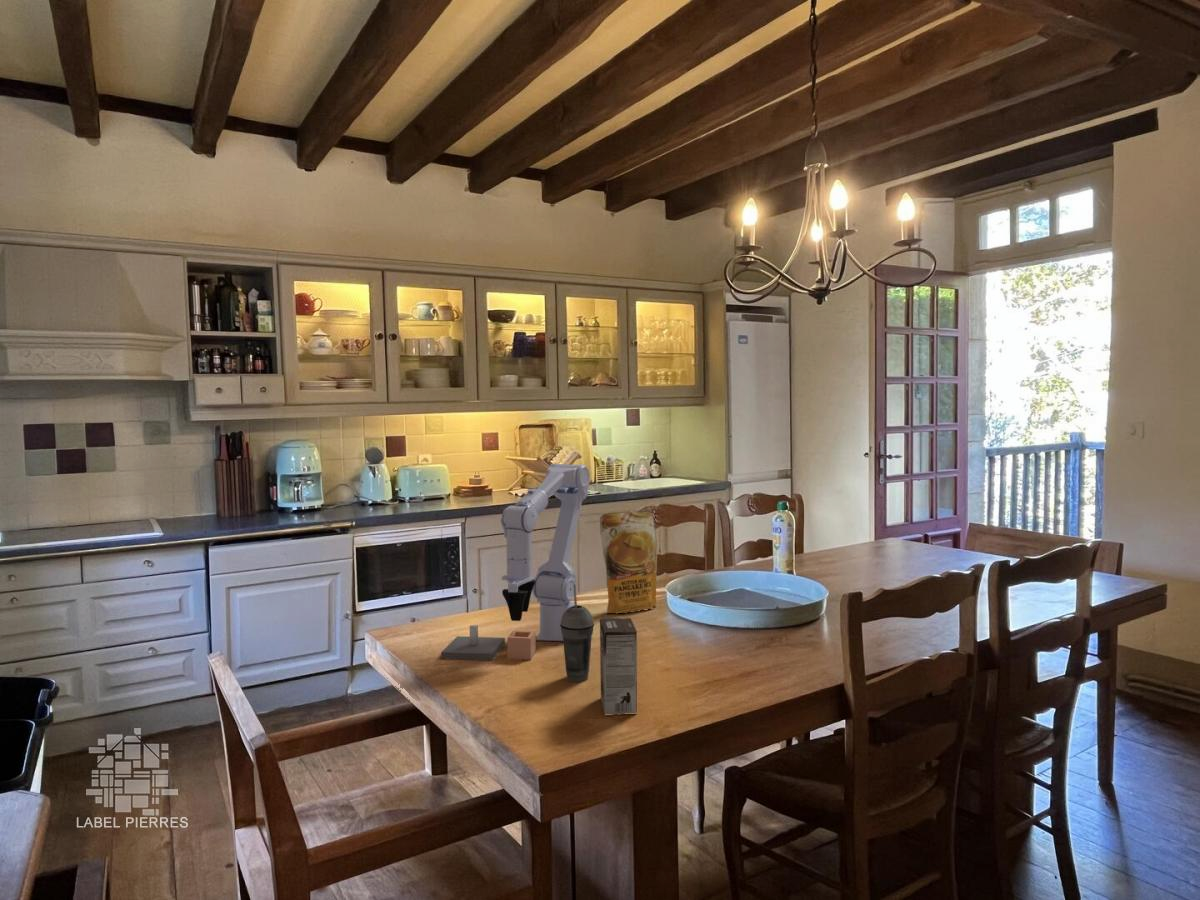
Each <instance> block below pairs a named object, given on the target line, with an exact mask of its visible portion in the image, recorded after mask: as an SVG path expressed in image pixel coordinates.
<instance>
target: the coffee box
mask: <svg viewBox="0 0 1200 900" xmlns="http://www.w3.org/2000/svg"><path fill="white" fill-rule="evenodd" d="M599 640H600V641H599V642H600V643H599V646H600V647H599V653H600V654H599V655H600V657H599V659H600V662H599V663H600V669H599V670H600V700H601V703H602V704H601V705H602V709H604V710H603V713H604V715H605V714H625V713H636V712H637V710H638V708H637V707H638V705H637V704H638V700H637V698H638V696H637V695H638V693H637V692H638V691H637V690H638V678H637V677H638V632H637V629H636V627H635V624H634V622H633V620H632V618H631V617H628V618H620V617H619V618H618V617H607V618H606V617H605V618H599Z"/></svg>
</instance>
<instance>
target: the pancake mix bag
mask: <svg viewBox="0 0 1200 900" xmlns="http://www.w3.org/2000/svg"><path fill="white" fill-rule="evenodd" d="M599 525H600V526H599V527H600V536H601V542H602V543H601V544H602V553H603V560H604V564H605V571H606V572H605V573H606V574H605V575H606V577H605V578H606V589H607V596H608V600H607V601H608V603H607V608H606V614H607V613H616V614H615V615H619V614H618V613H625V614H627V613H626V612H631V611H638V610H644V609H651V608H653V609H654V607H653V606H656V607H658V606H657V605H658V604H657V599H656V598H657V583H658V581H657V571H658V570H657V569H658V566H657V565H658V554H657V550H658V546H657V545H658V544H657V543H658V541H657V532H656V523H655V517H654V513H652V512H651V510H638V511H620V512H618V511H617V512H610V513H603V514H601V516H600V517H599Z"/></svg>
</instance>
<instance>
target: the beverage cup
mask: <svg viewBox="0 0 1200 900" xmlns="http://www.w3.org/2000/svg"><path fill="white" fill-rule="evenodd" d="M573 586H574V597H573V599H574V600H573V602H574V604H575V606H572V607H570V608H568V609H567V610H566V611H565V612H564V614H563V616H562V619H561V624H560V627H561V631H562V635H563V641H562V642H563V652H564V654H563V655H564V661H565V662H564V664H565V672H566V680H568V681H569V680H570V682H575V683H581V682H580V681H582V682H586V681H587V680H589V672H590V663H591V651H592V650H591V648H592V636H593V634H594V627H595V623H594V618H593V615H592V613H591V611H589V609H588V608H586V607H585V606H582V605H578V602H577V601H578V600H577V585H576V584H574V585H573Z"/></svg>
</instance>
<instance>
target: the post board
mask: <svg viewBox="0 0 1200 900" xmlns="http://www.w3.org/2000/svg"><path fill="white" fill-rule="evenodd" d="M504 644H506V638H505V637H493V636H492V637H490V636H489V637H487V636H479V625H478V624H470V625H469V636H459V635H457V636H455V638H454V639H453V640H452V641H451V642H450V643H449V644H448V645H446V647H444V649H443V650H442V651H441V658H450V659H451V660H469V659H479V660H478V661H493V660H494V659H495V658H496V656H497V655H498V654H499V652H500V651H501V650H500V649H502V648H503V647H504V646H505V645H504ZM497 653H498V654H497ZM494 657H495V658H494ZM455 658H456V659H455ZM450 659H449V660H450Z"/></svg>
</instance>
